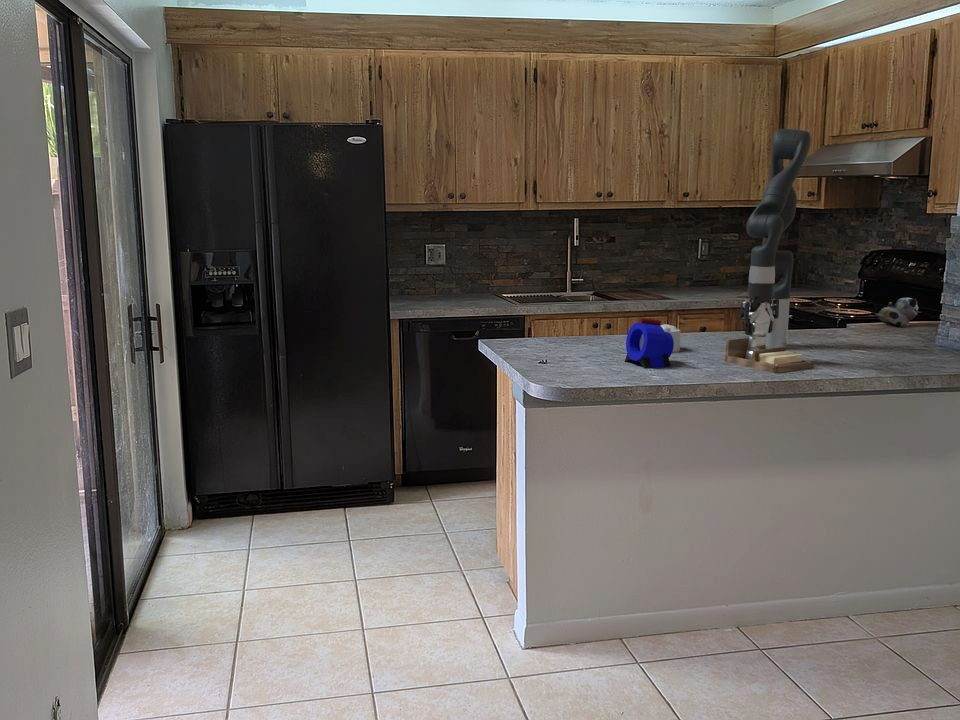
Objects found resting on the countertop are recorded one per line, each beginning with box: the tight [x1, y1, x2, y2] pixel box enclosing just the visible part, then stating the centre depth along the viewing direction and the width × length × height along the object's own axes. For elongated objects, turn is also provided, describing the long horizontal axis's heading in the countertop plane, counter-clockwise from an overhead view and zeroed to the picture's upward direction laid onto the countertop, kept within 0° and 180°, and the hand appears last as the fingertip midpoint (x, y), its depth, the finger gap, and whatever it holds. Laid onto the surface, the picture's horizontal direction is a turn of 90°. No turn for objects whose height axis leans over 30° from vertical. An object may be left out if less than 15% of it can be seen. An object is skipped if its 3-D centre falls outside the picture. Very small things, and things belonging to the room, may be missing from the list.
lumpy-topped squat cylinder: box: [660, 323, 681, 353], centre depth 298 cm, size 10×13×9 cm
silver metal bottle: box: [746, 302, 770, 360], centre depth 271 cm, size 6×7×20 cm
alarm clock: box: [624, 316, 674, 370], centre depth 274 cm, size 12×12×15 cm
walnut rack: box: [724, 336, 814, 374], centre depth 268 cm, size 20×16×8 cm
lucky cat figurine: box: [876, 297, 919, 328], centre depth 352 cm, size 15×12×14 cm
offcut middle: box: [759, 361, 801, 366], centre depth 265 cm, size 6×11×2 cm, turn 124°
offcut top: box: [758, 350, 803, 364], centre depth 264 cm, size 6×11×2 cm, turn 115°
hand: (758, 333), depth 271 cm, fingers open, 8 cm apart
